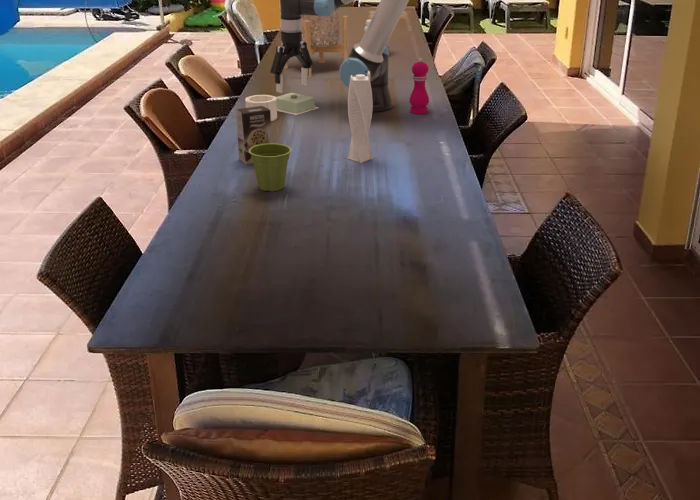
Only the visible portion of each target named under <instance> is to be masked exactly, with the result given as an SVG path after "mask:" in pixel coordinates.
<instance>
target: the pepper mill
mask: <svg viewBox="0 0 700 500" xmlns="http://www.w3.org/2000/svg"><path fill="white" fill-rule="evenodd" d="M423 61H424V60H423V58H422V57H419V58H417V62H415V63H413V65H412V67H411V72H412V74H413V75H412V77H413V78H412V80H413V83H414V84H413V85H414V86H413V89H412V92H411V93H410V94H409V95H410V96H409V101H408V102H409V103H410V104H409V105H411V106H410V109H409V112H410V113H411V114H415V115H423V114H427V113H428V104H429V102H430V98H429V94H428V92H427V89H426V80H427V77H428V76H427V74H428V73H429V65H428V64H427V63H426V62H423Z"/></svg>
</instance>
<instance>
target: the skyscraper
mask: <svg viewBox="0 0 700 500" xmlns="http://www.w3.org/2000/svg"><path fill="white" fill-rule="evenodd" d="M372 109H373V101H372V90H371V83H370V71H368V76H365V75H362V74H359V75H356V77H352V75H351V77H350V84H349V88H348V94H347V114H348V115H347V116H348V117H347V118H348V123H349V128H350V133H351V138H350V145H349V150H348V156H347V157H344V159H346V160H348V161H352V162H355V163H359V164H364V163H365V162H369V161H371V160H375V159H377V156H374V155H372V150H371V144H370V143H371V142H370V139H369V131H370V127H371V123H372V118H373V117H372V116H373V112H372Z"/></svg>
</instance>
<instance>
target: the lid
mask: <svg viewBox="0 0 700 500" xmlns="http://www.w3.org/2000/svg"><path fill="white" fill-rule="evenodd" d="M275 97H276V101H277V109H279V110H283V111H287V112H292V113H296V114H298V113H301V112H304V111H307V110H310V109H314V108H315V107H316V101H315V100H316V98H315V97H314V96H309V95H305V94H304V95H303V94H299V93H296V92H290V93H285V94H282V95H279V96H275ZM314 110H315V109H314ZM301 114H302V113H301ZM298 115H299V114H298Z"/></svg>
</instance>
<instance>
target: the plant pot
mask: <svg viewBox="0 0 700 500" xmlns="http://www.w3.org/2000/svg"><path fill="white" fill-rule="evenodd" d="M291 152H292V148H291V147H290V146H289V145H287V144H282V143H276V142H275V143H273V142H272V143H269V144H260V145H255V146H253V147H251V148H250V149H249V153H250V154H251V157H252V160H253V163H252V164H253V166H254V167H253V168H254V171H255V176H256V180H257V186H258V189H259V190H261V191H264V192H266V191H269V192H278V191H280V190H283V188H284V187H285V182H286V175H287V167H288V163H289V162H288V161H289V158H290V154H291Z"/></svg>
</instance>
